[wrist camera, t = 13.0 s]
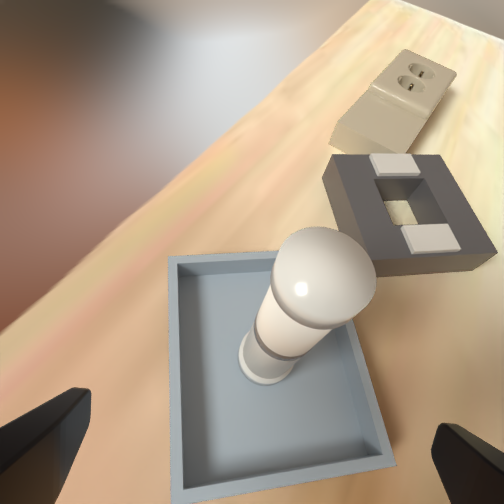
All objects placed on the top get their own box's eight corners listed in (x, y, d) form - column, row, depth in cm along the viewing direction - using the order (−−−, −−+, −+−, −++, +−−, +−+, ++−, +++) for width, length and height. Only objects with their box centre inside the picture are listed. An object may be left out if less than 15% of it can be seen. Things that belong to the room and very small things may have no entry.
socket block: (472, 270, 29) (501, 250, 26) (354, 278, 27) (372, 257, 24) (422, 176, 35) (442, 151, 32) (321, 177, 33) (333, 150, 30)
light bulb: (300, 370, 22) (396, 293, 12) (252, 396, 21) (311, 335, 10) (274, 323, 24) (339, 216, 13) (228, 343, 22) (259, 244, 12)
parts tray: (376, 465, 20) (396, 465, 18) (174, 501, 18) (170, 507, 16) (321, 264, 27) (331, 248, 25) (170, 273, 25) (168, 256, 23)
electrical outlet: (340, 113, 32) (404, 46, 41) (327, 146, 36) (388, 78, 45) (408, 148, 31) (459, 71, 40) (387, 179, 34) (438, 102, 43)
